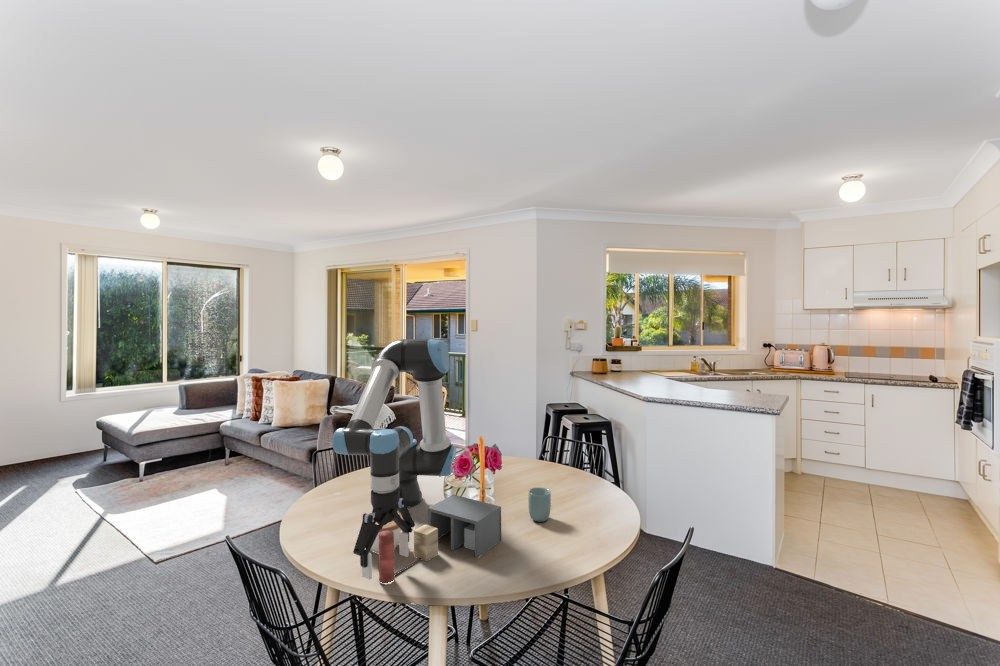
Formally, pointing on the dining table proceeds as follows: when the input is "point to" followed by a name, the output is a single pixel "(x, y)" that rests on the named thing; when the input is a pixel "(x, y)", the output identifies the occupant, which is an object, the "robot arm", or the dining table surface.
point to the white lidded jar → (388, 527)
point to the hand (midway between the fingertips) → (386, 566)
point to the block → (469, 536)
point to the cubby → (467, 521)
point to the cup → (539, 504)
